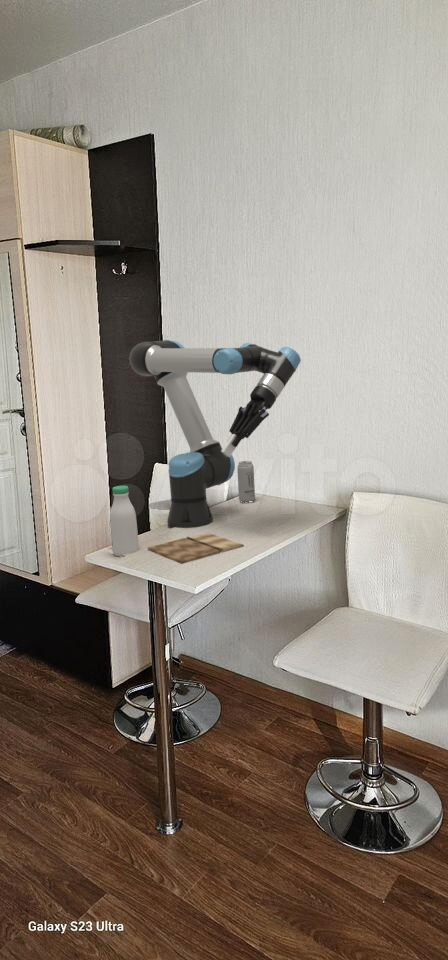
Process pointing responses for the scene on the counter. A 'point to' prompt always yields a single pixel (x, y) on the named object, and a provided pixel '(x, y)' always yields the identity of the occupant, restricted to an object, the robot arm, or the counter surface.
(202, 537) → the laid floorboards
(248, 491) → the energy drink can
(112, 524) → the milk bottle
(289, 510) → the counter surface
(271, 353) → the robot arm
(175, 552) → the board
